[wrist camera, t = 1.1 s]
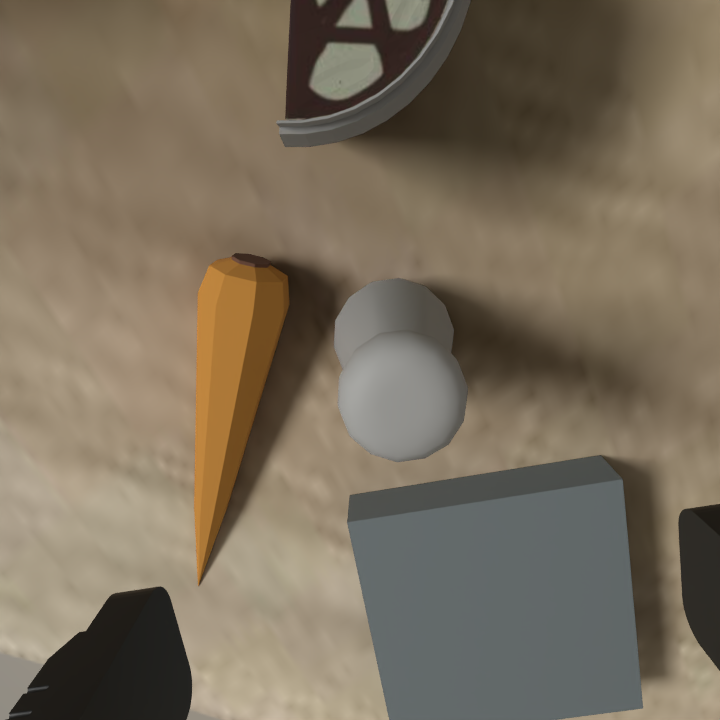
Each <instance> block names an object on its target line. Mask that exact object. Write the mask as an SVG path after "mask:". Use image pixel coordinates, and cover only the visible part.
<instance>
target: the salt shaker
mask: <svg viewBox="0 0 720 720" xmlns="http://www.w3.org/2000/svg"><path fill="white" fill-rule="evenodd" d="M453 335H454V329H453V326H452V323H451V320H450V318H449V315H448V312H447V309H446V307H445V305H444V304H443V303H442V302H441V301H440V300H439V299H438V298H437V297H436V296H435V295H434V294H433V293H432V292H431V291H430V290H429V289H428V288H427V287H426V286H423V285H420V284H417V283H414V282H410V281H407V280H404V279H401V278H396V279H389V280H381V281H374V282H371V283H369V284H368V285H366V286H365V287H363V288H362V289H361V290H359V291H358V292H356V293H355V294H353V295H352V296H350V297H349V298H348V300H347V302H346V304H345V305H344V307H343V309H342V310H341V312H340V314H339V315H338V317H337V319H336V320H335V337H334V348H335V351H336V353H337V356H338V358H339V361H340V364H341V366H342V369H343V371H342V372H341V374H340V377H339V390H338V408H339V410H340V413H341V415H342V418H343V420H344V423H345V425H346V428H347V430H348V433H349V435H350V437H352V438H353V439H354V440H355V441H356V442H357V443H358V444H360V445H361V446H362V447H363V448H364V449H365V450H367V451H368V452H369V453H370V454H372V455H376V456H379V457H382V458H385V459H388V460H392V461H395V462H402V461H409V460H417V459H424V458H426V457H428V456H430V455H431V454H433V453H435V452H436V451H438V450H440V449H441V448H443V447H445V446H447V445H448V444H449V443H450V441H451V440H452V438H453V437H454V435H455V434H456V432H457V431H458V429H459V428H460V426H461V425H462V423H463V421H464V415H465V408H466V401H467V394H468V386H467V384H466V381H465V378H464V376H463V373H462V370H461V368H460V365H459V363H458V361H457V359H456V358H455V357H454V356H453V355H452V354H451V351H452V343H453Z"/></svg>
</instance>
